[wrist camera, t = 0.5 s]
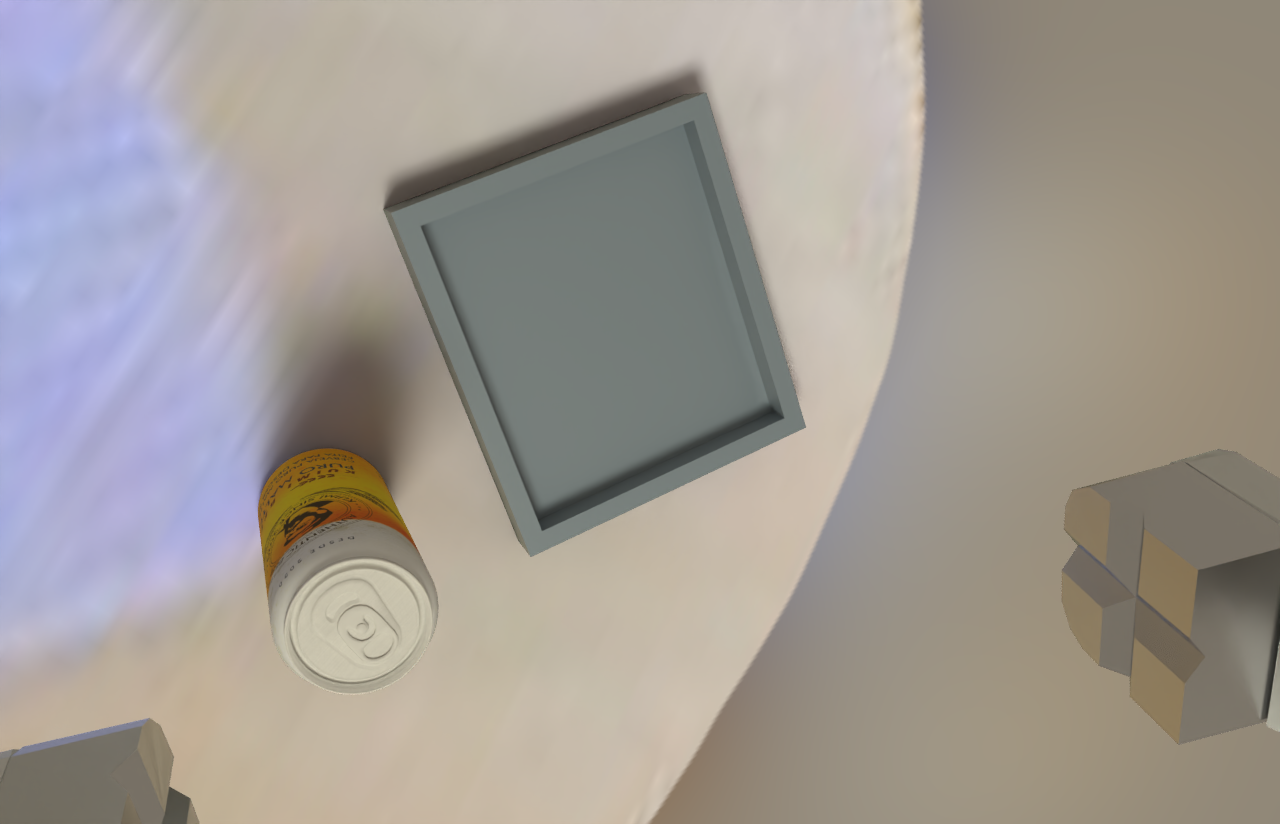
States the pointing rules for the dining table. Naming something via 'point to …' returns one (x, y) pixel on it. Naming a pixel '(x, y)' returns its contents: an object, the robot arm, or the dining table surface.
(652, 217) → the tray
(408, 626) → the beer can
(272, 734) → the dining table surface
